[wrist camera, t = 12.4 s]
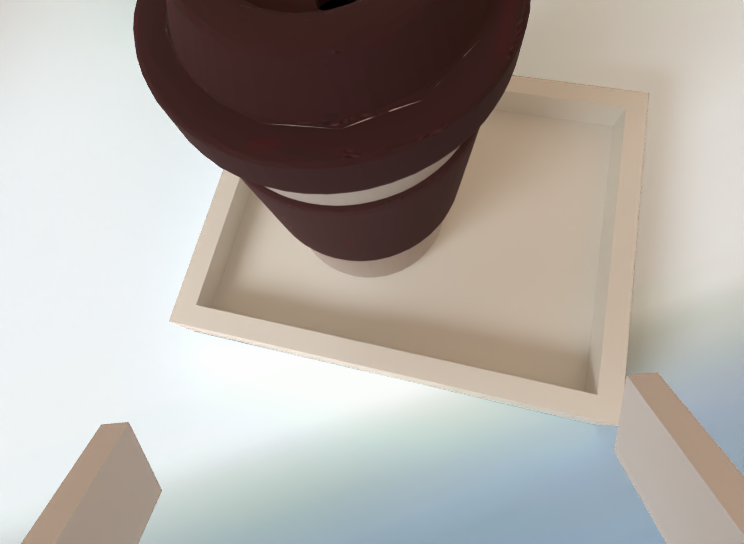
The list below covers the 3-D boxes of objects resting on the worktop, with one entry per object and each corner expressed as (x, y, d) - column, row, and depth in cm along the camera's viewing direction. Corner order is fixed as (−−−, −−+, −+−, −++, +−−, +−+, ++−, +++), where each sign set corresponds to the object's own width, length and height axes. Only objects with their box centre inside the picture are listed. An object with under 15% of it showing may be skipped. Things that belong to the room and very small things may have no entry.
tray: (195, 331, 25) (169, 320, 22) (281, 78, 29) (268, 43, 26) (595, 424, 22) (621, 425, 19) (625, 126, 26) (649, 93, 23)
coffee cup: (283, 133, 26) (127, -207, 12) (464, 126, 25) (528, -251, 11) (271, 308, 23) (44, 132, 9) (474, 305, 22) (581, 106, 8)
